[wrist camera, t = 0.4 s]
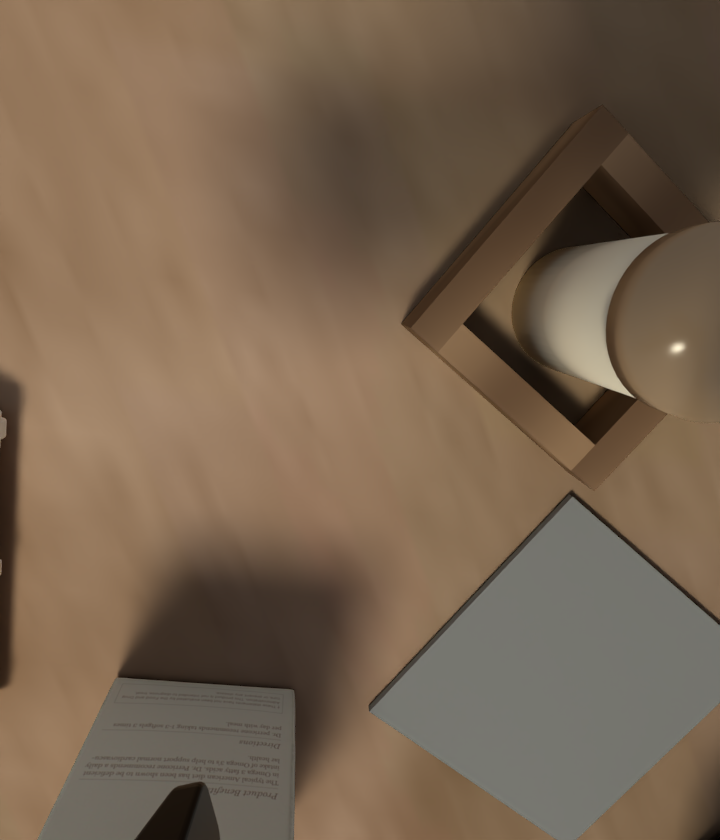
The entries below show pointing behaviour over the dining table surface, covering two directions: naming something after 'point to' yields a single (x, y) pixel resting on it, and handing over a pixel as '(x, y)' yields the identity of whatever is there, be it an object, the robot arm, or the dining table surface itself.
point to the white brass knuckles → (0, 433)
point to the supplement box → (182, 760)
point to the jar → (631, 318)
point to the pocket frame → (505, 244)
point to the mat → (561, 675)
